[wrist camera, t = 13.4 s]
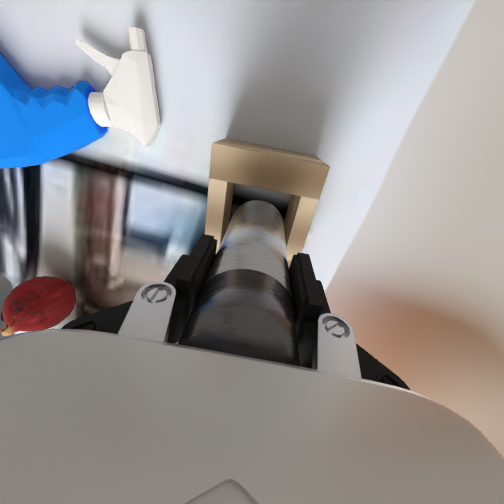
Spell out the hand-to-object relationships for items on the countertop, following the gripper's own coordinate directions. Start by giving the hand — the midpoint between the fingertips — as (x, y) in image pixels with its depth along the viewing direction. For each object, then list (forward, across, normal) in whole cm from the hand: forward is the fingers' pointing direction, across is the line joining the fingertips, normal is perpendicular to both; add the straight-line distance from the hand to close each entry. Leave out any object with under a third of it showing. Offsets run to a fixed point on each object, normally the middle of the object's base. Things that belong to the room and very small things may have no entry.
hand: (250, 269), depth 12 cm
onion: (+12, +22, +15) cm, 29 cm away
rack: (+11, 0, 0) cm, 11 cm away
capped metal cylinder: (+6, 0, 0) cm, 6 cm away
